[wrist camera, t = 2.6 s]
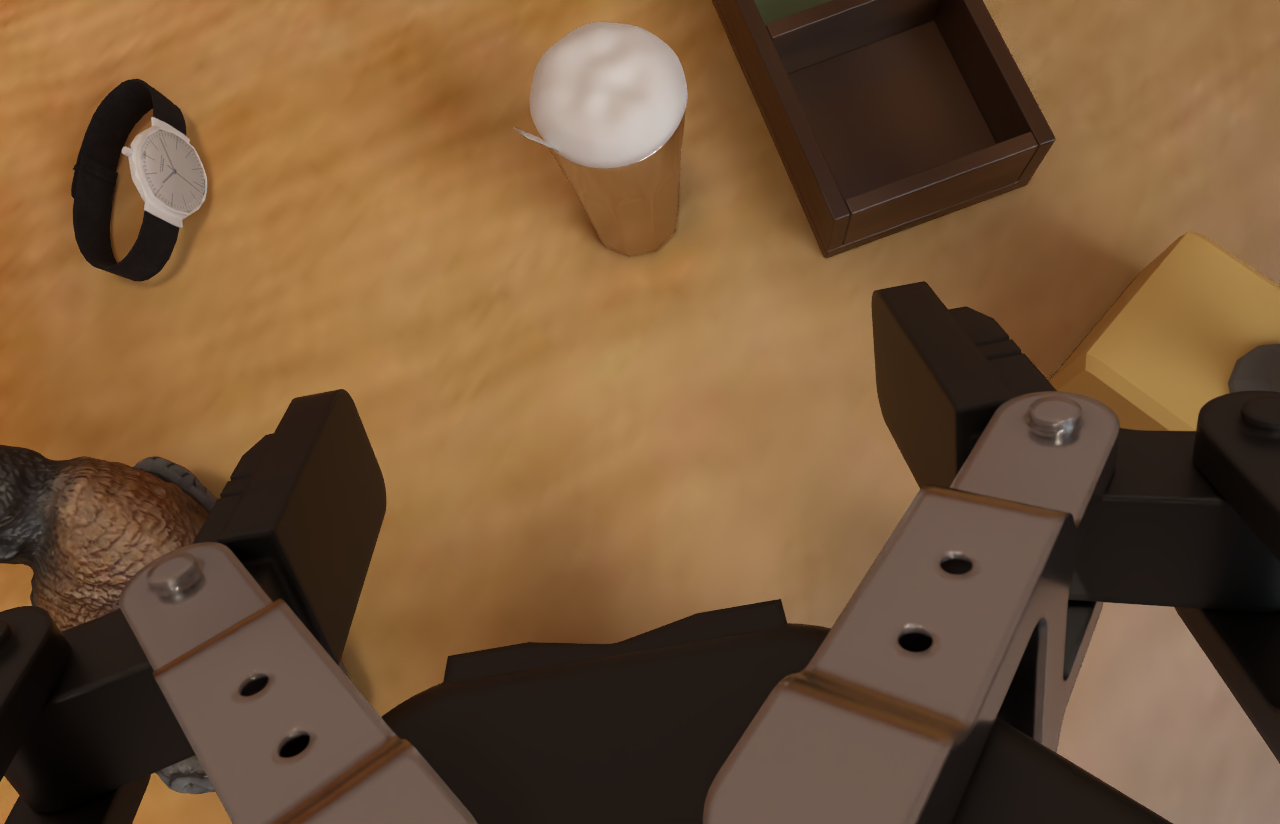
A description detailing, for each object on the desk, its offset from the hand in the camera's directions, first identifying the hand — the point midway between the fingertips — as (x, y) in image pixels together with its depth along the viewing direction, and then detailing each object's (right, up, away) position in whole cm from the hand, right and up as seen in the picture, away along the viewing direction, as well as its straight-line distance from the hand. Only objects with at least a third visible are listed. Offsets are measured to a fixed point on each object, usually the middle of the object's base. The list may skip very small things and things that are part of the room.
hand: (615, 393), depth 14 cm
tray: (+7, +16, +22) cm, 28 cm away
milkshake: (0, +7, +21) cm, 22 cm away
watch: (-19, +8, +23) cm, 31 cm away
